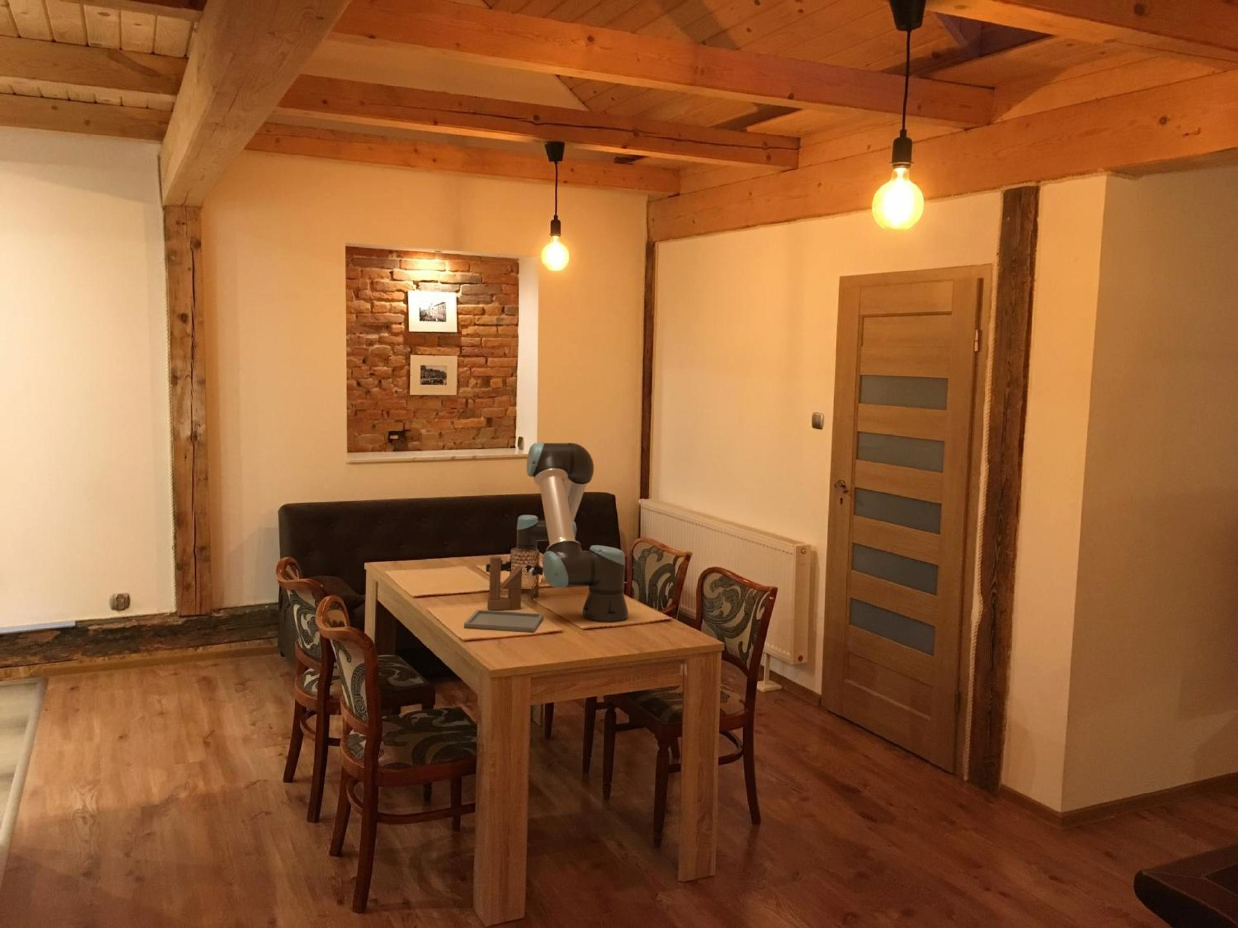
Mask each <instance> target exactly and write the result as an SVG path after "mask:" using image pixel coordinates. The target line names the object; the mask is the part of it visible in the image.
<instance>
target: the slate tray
mask: <svg viewBox="0 0 1238 928" xmlns="http://www.w3.org/2000/svg"><path fill="white" fill-rule="evenodd" d="M543 620H544V613H535V612H533V613H532V612H520V611H519V612H517V611H506V610H493V611H490V610H489V609H488V610H487V609H476V611H474V612H473V613H472V615H470V616H469V618H468V619H466V621H465V622H464V623H463V629H473V630H490V631H502V632H516V633H517V632H521V633H535V632H536V630H537V628H538V627H539V625H540V624H541V623H542V621H543Z"/></svg>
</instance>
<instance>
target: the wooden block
mask: <svg viewBox="0 0 1238 928" xmlns="http://www.w3.org/2000/svg"><path fill="white" fill-rule="evenodd" d="M501 560H502V557H501V556H500V555H491V556H490V558H489V564H490V573H489V575H490V577H489V588H488V589H489V591H488V592H489V593H488V596H489V597H488V598H487V609H488V610H489V611H507V610H511V611H512V610H513V611H514V610H520V609H521V607H522V606H521V605H522V585H523V584H522V580H523V578H522V576H523V574H522V568H521V567H520V566H518V567H517V568H516V569H515V570H514V571H511V573H510V574H509V575H508V576H507V577H506V579H504V580H503V582H501V578H502V577H501V575H502V573H501V572H502V571H501ZM501 590H507V591H508V594H507V597H505V596H504V597H502V596H501Z"/></svg>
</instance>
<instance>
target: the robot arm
mask: <svg viewBox="0 0 1238 928" xmlns="http://www.w3.org/2000/svg"><path fill="white" fill-rule="evenodd" d="M594 465H595V464H594V461H593V457H592V456H591V454H590V453H589V451H588V450H587V449H586V448H585V447H584V446H582V445H580V444H578V443H574V442H536V443H535V442H534V443H533V444H531V446H530V447H529V449H528V453H527V458H526V474H527V476H528V477H530V478H533V481H534V484H535V485H536V486H538V487H539V490H540V495H541V501H542V508H543V512H544V513H543V514H544V520H539V518H538V516H536V515H534V514H533V515H532V514H522V515H520V516H518V517H517V526H516V550H517V549H521V550H534V551H537V552H538V550H537V549H538V542H542V541H543V542H545V541H546V542H547V541H548V543H549V545H548V546H547V548H546V550H545V552H544V554H543V555H542V562H541V564H542V566H541V565H539V564H537V565H535V567H534V566H531V565H527V567H526V568H527V569H526V570H527V572H526V573H528V578H527V579H528V580H532V579H533V577H535V576H538V575H539V576H544V578H545V581H546V583H547V584H548V585H549V586H550V587H553V588H561V589H565V588H575V587H576V588H578V587H579V588H580V587H581V588H582V587H588V593H587V596H586V599H585V602H584V604H583V607H582V617H583V618H585V619H587V620H590V621H594V622H595V621H596V622H604V623H605V622H606V623H607V622H608V623H609V622H611V623H612V622H621V621H624V620H627V619H628V617H629V607H628V605H627V602H626V599H625V595H624V593H625V592H624V590H625V569H626V555H625V553H624V551H623V550H621V549H619V548H616V547H612V546H606V545H598V544H596V545H594V544H593V545H591V546H590V547H589V550H582V545H581V543H580V542H579V541H577V540H576V537H577V536H576V535H577V525H576V522H575V519H576V515H577V512H578V510H579V506H580V504H581V501H582V498H583V495H584V492H585V490H586V487H587V485H588V484H589V483H591V481H592V479H593V476H594V472H595V466H594ZM485 572H486V573H488V574H489V577H488V578H490V563H487V564H486V565H485ZM501 572H508V573H509V572H512V571H511V559H510V560H508V561H504V560H502V559H501Z"/></svg>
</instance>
